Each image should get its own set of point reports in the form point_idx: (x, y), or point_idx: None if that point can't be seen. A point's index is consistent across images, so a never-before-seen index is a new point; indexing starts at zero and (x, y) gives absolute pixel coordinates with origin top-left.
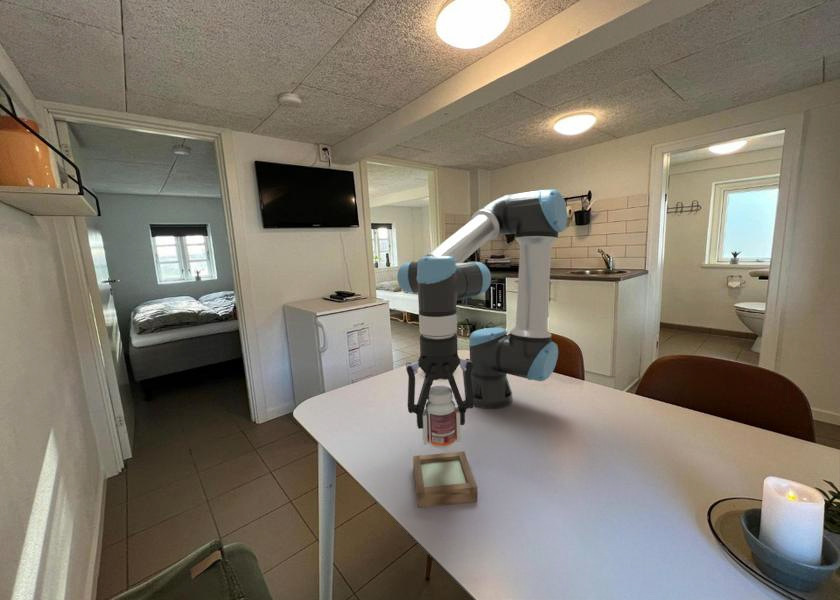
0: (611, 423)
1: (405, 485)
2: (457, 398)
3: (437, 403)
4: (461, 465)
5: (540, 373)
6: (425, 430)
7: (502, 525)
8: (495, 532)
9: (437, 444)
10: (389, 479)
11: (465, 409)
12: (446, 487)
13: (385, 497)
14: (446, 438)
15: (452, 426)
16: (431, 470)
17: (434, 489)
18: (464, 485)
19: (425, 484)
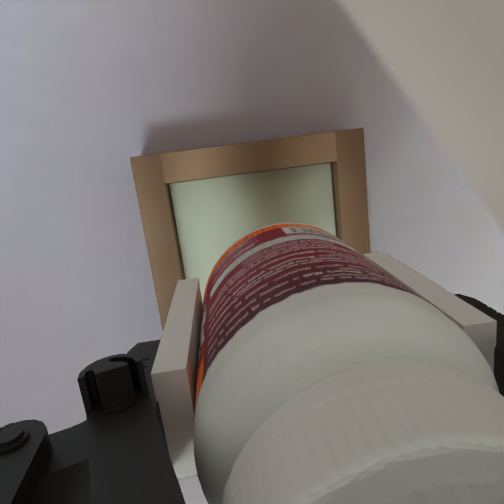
0: None
1: (385, 235)
2: (150, 494)
3: (436, 367)
4: None
5: None
6: (412, 278)
7: (62, 43)
8: (89, 12)
9: (315, 227)
10: (438, 264)
11: (84, 389)
12: (252, 157)
13: (449, 180)
14: (266, 237)
15: (225, 288)
16: None
17: (298, 146)
18: (180, 168)
19: (326, 198)
